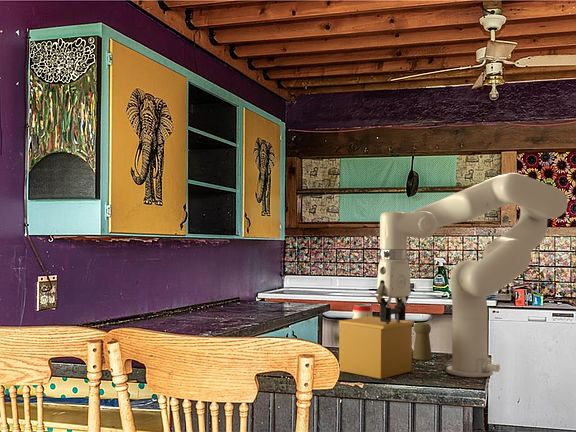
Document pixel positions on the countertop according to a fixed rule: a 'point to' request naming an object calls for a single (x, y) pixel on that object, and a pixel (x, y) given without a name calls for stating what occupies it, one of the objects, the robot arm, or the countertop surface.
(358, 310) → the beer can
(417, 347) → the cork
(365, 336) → the chest
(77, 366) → the countertop surface
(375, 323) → the lid
